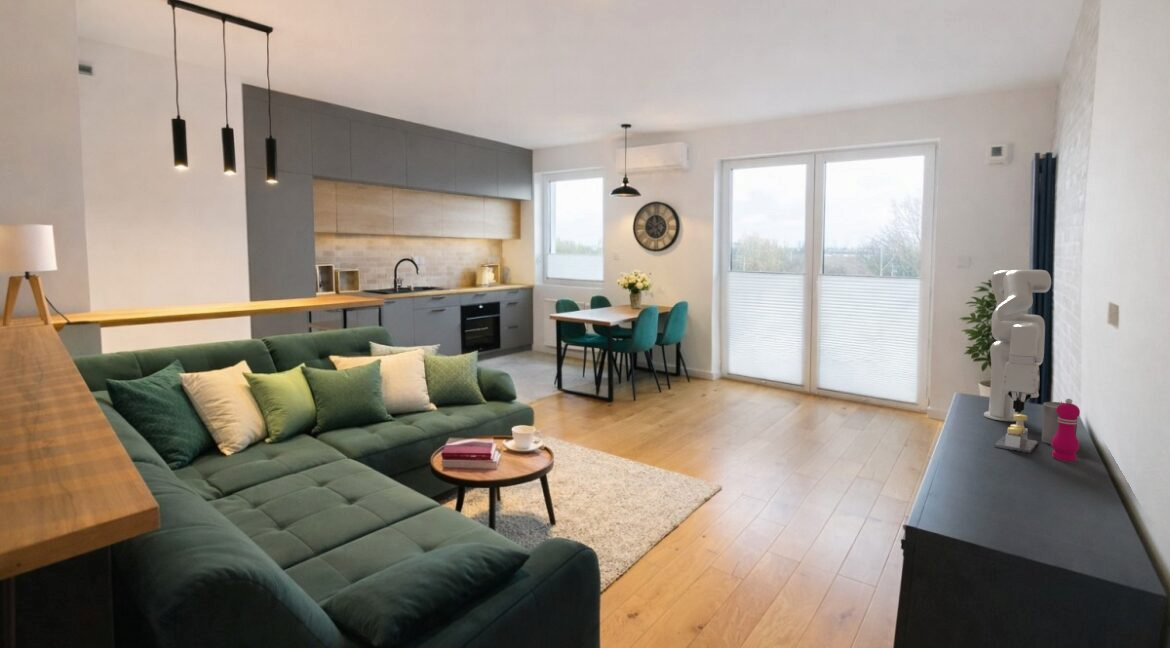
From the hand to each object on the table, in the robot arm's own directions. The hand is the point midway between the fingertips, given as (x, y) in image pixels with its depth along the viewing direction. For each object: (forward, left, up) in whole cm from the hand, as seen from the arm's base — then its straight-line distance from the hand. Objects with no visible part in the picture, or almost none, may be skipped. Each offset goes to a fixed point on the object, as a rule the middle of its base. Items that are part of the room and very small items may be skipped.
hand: (1018, 411), depth 212 cm
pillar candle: (-13, +10, -12) cm, 21 cm away
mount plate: (0, 0, -12) cm, 12 cm away
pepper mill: (+6, +14, -12) cm, 20 cm away
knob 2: (0, 0, -11) cm, 11 cm away
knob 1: (-4, 0, -8) cm, 9 cm away
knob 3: (+5, 0, -11) cm, 12 cm away
